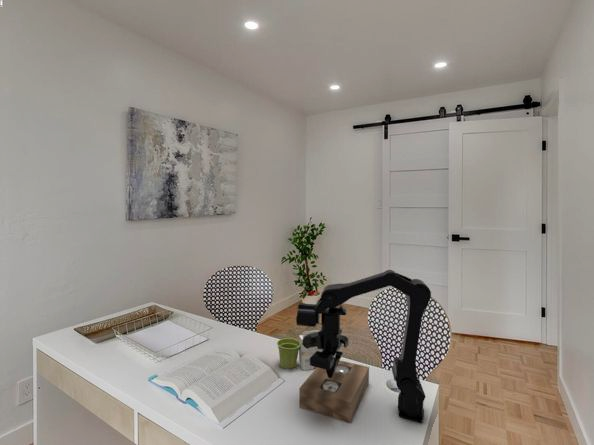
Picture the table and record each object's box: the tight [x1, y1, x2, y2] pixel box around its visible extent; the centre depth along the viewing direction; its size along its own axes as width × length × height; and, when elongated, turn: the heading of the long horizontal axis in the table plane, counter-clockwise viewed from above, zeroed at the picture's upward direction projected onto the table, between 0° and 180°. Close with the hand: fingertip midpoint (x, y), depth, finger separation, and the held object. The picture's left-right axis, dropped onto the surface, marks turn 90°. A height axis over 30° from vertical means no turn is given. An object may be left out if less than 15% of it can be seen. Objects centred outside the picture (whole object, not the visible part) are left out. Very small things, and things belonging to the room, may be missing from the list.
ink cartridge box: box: [298, 329, 323, 371], centre depth 121 cm, size 9×5×15 cm, turn 107°
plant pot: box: [276, 337, 300, 370], centre depth 121 cm, size 9×9×9 cm
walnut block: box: [298, 359, 370, 424], centre depth 102 cm, size 16×22×6 cm
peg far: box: [335, 366, 349, 375], centre depth 107 cm, size 5×5×6 cm
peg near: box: [323, 381, 338, 392], centre depth 97 cm, size 5×5×6 cm
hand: (330, 377), depth 97 cm, fingers closed
